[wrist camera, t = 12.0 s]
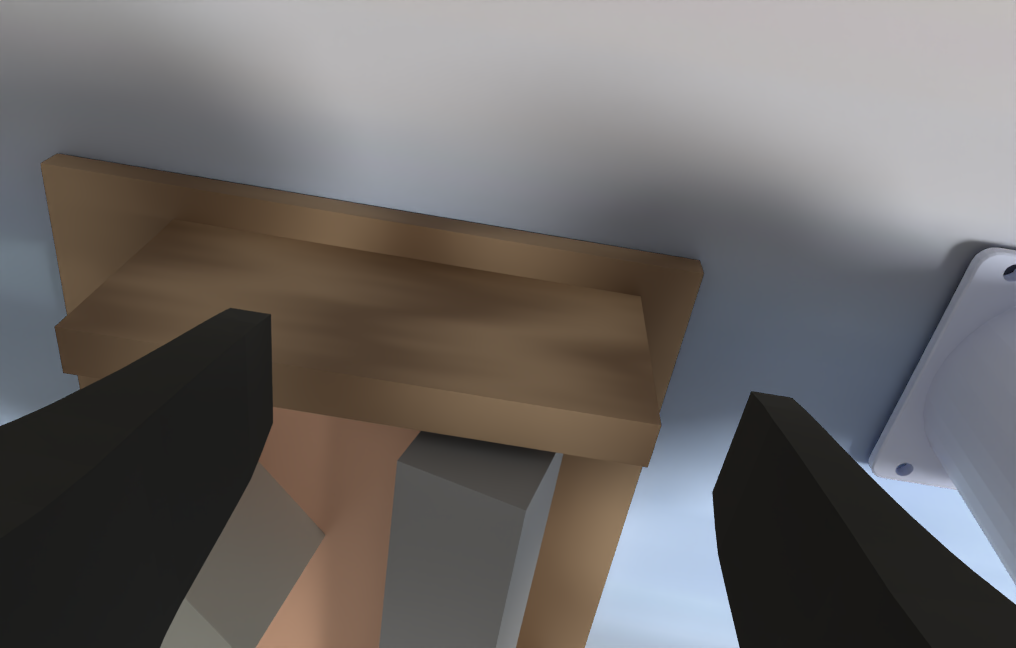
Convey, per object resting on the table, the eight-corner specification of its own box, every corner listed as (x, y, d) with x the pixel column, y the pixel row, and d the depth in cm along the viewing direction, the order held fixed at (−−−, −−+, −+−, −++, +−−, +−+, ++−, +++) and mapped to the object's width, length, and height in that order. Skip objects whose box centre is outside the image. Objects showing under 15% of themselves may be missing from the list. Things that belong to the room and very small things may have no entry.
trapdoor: (570, 425, 19) (526, 510, 16) (491, 747, 26) (451, 843, 23) (223, 301, 21) (133, 358, 18) (240, 629, 28) (178, 704, 26)
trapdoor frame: (699, 260, 22) (744, 399, 16) (569, 676, 31) (569, 850, 26) (57, 153, 21) (-126, 257, 16) (131, 607, 31) (36, 769, 26)
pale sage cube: (325, 535, 21) (246, 661, 16) (212, 617, 22) (106, 759, 17) (212, 410, 20) (93, 503, 15) (101, 501, 21) (-42, 615, 16)
